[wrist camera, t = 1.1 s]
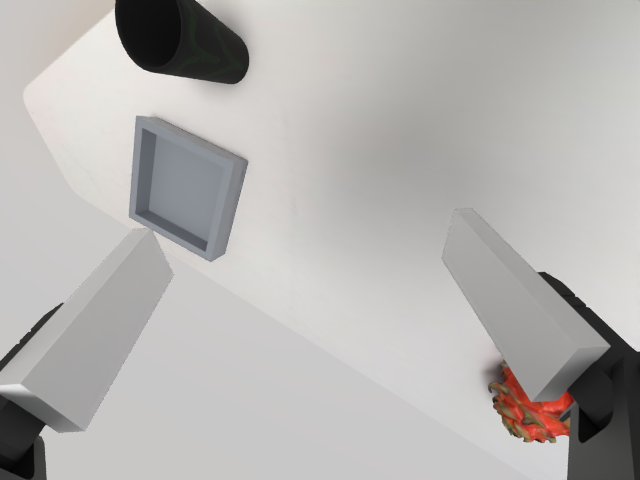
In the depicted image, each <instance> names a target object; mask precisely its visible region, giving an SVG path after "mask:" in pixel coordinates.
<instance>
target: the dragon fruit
mask: <svg viewBox="0 0 640 480" xmlns="http://www.w3.org/2000/svg"><path fill="white" fill-rule="evenodd" d="M501 366H502V367H503V368H502V369H501V376H502V377H503V383H502V384H499V383H496V382H494V383H491V384H490V385H489V386H488V390H489V391H490V393H492V391H491V388H490V387H492V388H493V389H496V390H497V391H498V392H499V393H500V394H499V395H496V396H494V397H493V399H492V400H493V403H494V405H493V408H494V409H496V410H497V413H498V414H500V415H501V416H502V423H503V424H504V426H505V427H506V428H507V429H508V431H509V433H510V435H512V434H513V435H514V436H515V437H518V438H522V437H524V441H523V442H533V440H536V441H538V442H540V443H545V441H546V440H549V441H550V443H556V438H555V437H556V436H559V435H567V436H569V435H570V417H569V418H568V419H567V420H566V421H564V422H561V421H559V417H560V415H561V414H562V413H563V412H564V411H565V410H566V409H567V408H568V407H569V406H570V405H571V404H572V403H574V402H575V400H574V398H573V397H572V396H571V394H570V393H569V392H568V390H567V391H566V392H565V393H564V394H563V395H562V396H561V397H560V398H559V399H558V400H557V401H543V402H531V401H530V400H529V398H528V396H527V395H526V393H525V392H524V390H523V388H522V387H521V385H520V384H519V382H518V380H517V379H516V377H515V376H514V374H513V372H512V371H511V369H510V368H509V366H508V364H507V363H506V361H505V360H504V361H503V362H502V364H501ZM495 402H496V403H495Z"/></svg>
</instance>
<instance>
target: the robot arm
mask: <svg viewBox="0 0 640 480" xmlns="http://www.w3.org/2000/svg"><path fill="white" fill-rule="evenodd" d="M441 259H442V260H443V262H444V264H445V265H446V267H447V268H448V270H449V272H450V273H451V275H452V276H453V278H454V280H455V281H456V283H457V284H458V286H459V288H460V289H461V291H462V292H463V294H464V296H465V297H466V299H467V300H468V302H469V304H470V305H471V307H472V308H473V310H474V312H475V313H476V315H477V316H478V318H479V320H480V321H481V323H482V324H483V326H484V328H485V329H486V331H487V332H488V334H489V336H490V337H491V339H492V340H493V342H494V344H495V345H496V347H497V348H498V350H499V352H500V353H501V355H502V356H503V358H504V360H505V361H506V363H507V364H508V366H509V368H510V369H511V371H512V372H513V374H514V376H515V377H516V379H517V380H518V382H519V384H520V385H521V387H522V388H523V390H524V392H525V393H526V395H527V396H528V398H529V400H530V401H531V402H543V401H557V400H558V399H559V398H560V397H561V396H562V395H563V394H564V393H565V392H566V391H567V390H568V392H569V393H570V394H571V396H572V397H573V398H574V400H575V402H574V403H572V404H571V405H570V406H569V407H568V408H567V409H566V410H565V411H564V412H563V413H562V414H561V415H560V417H559V421H561V422H564V421H566V420H567V419H568V418H569V417H570V435H569V455H568V475H567V480H640V352H637V351H635V350H634V349H633V348H632V347H631V346H629V345H628V344H627V343H626V342H625V341H624V340H623V339H622V338H621V337H620V336H619V335H618V334H617V333H616V332H615V331H613V330H612V329H611V328H610V327H609V326H608V325H607V324H606V323H605V322H604V321H603V320H602V319H601V318H600V317H599V316H597V315H596V314H595V313H594V312H593V311H592V310H591V309H590V308H589V307H586V304H585V303H584V302H583V301H581V300H580V299H579V298H578V297H575V294H574V293H573V292H572V291H571V290H570V289H569V288H568V287H567V286H565V285H564V284H563V283H562V282H561V281H559V280H557V279H556V278H554V277H552V276H551V275H549V274H547V273H546V272H536V271H535V270H534V269H533V268H532V267H531V266H530V265H529V264H528V263H527V262H526V261H525V260H524V259H523V258H522V257H521V256H520V255H519V254H518V253H517V252H516V251H515V250H514V249H513V248H512V247H511V246H510V245H509V244H508V243H507V242H506V241H505V240H504V239H503V238H502V237H501V236H500V235H499V234H498V233H497V232H496V231H495V230H494V229H493V228H492V227H491V226H490V225H489V224H488V223H487V222H486V221H485V220H484V219H483V218H482V217H481V216H480V215H479V214H478V213H477V212H476V211H475V210H474V209H473V208H469V209H455V211H454V214H453V218H452V222H451V225H450V229H449V232H448V236H447V240H446V243H445V247H444V250H443V254H442V258H441ZM173 276H174V274H173V272H172V270H171V268H170V266H169V263H168V261H167V259H166V257H165V255H164V253H163V251H162V249H161V247H160V245H159V243H158V241H157V239H156V237H155V235H154V233H153V231H152V229H151V228H141V229H133V230H132V231H131V232H130V233H129V234H128V235H127V236H126V237H125V239H124V240H123V241H122V242H121V243H120V244H119V245H118V246H117V247H116V248H115V249H114V250H113V251H112V252H111V253H110V254H109V256H108V257H107V258H106V259H105V260H104V261H103V262H102V263H101V264H100V265H99V266H98V267H97V268H96V270H95V271H94V272H93V273H92V274H91V275H90V276H89V277H88V278H87V279H86V280H85V281H84V282H83V283H82V285H81V286H80V287H79V288H78V289H77V290H76V291H75V292H74V293H73V294H72V295H71V296H70V297H69V299H68V300H67V301H66V302H65V303H61V304H60V305H58V306H57V307H55V308H54V309H53V310H51V311H50V312H48V313H47V314H46V315H44V316H43V317H42V318H41V319H40V320H39V321H38V322H37V323H36V325H35V326H34V327H33V328H32V329H31V332H28V333H27V334H26V335H25V336H24V337H23V338H22V339H21V340H20V343H19V344H16V345H15V346H14V347H13V348H12V349H11V350H10V351H9V353H8V354H7V355H6V356H5V357H4V358H3V359H2V360H1V361H0V480H47V478H46V462H45V447H44V441H43V439H42V437H41V436H39V434H40V432H41V431H42V429H43V427H44V426H45V425H48V426H49V427H51V428H52V429H54V430H55V431H57V432H58V433H63V432H79V431H85V430H86V428H87V427H88V425H89V423H90V421H91V420H92V418H93V416H94V414H95V413H96V411H97V409H98V407H99V406H100V404H101V402H102V400H103V399H104V397H105V395H106V393H107V392H108V390H109V388H110V386H111V385H112V383H113V381H114V379H115V378H116V376H117V374H118V372H119V371H120V369H121V367H122V365H123V364H124V362H125V360H126V358H127V357H128V355H129V353H130V351H131V350H132V348H133V346H134V344H135V342H136V341H137V339H138V337H139V336H140V334H141V332H142V330H143V329H144V326H145V325H146V323H147V322H148V320H149V318H150V316H151V315H152V313H153V311H154V309H155V307H156V306H157V304H158V302H159V301H160V299H161V297H162V295H163V293H164V292H165V290H166V288H167V286H168V284H169V283H170V281H171V279H172V278H173Z"/></svg>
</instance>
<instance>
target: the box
mask: <svg viewBox="0 0 640 480" xmlns="http://www.w3.org/2000/svg"><path fill="white" fill-rule="evenodd" d="M247 165H248V161H247V160H245V159H243V158H241V157H239V156H237V155H234V154H232V153H230V152H228V151H226V150H224V149H222V148H220V147H218V146H216V145H213V144H211V143H209V142H207V141H205V140H203V139H201V138H199V137H197V136H195V135H193V134H190V133H188V132H186V131H184V130H182V129H180V128H178V127H176V126H174V125H172V124H169V123H167V122H165V121H163V120H161V119H159V118H155V117H145V116H136V124H135V138H134V152H133V166H132V179H131V193H130V207H129V217H130V218H131V219H133V220H135V221H137V222H139V223H141V224H142V225H144V226H146V227H148V228H151V229H152V230H153V231H155V232H157V233H159V234H161V235H162V236H164V237H166V238H168V239H170V240H171V241H173V242H175V243H177V244H179V245H181V246H182V247H184V248H186V249H188V250H190V251H191V252H193V253H195V254H197V255H199V256H201V257H202V258H204V259H206V260H208V261H210V262H212V261H213V260H215V259H217V258H218V257H220V256H222V255H223V254H225V250H226V247H227V243H228V239H229V235H230V231H231V227H232V223H233V219H234V215H235V212H236V208H237V204H238V200H239V196H240V192H241V188H242V184H243V180H244V177H245V173H246V169H247Z"/></svg>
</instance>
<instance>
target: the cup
mask: <svg viewBox="0 0 640 480" xmlns="http://www.w3.org/2000/svg"><path fill="white" fill-rule="evenodd" d="M115 19H116V26H117V30H118V34H119V37H120V40H121V42H122V45H123V47H124V49H125V50H126V52H127V54H128V55H129V57H130V58H131V59H132V60H133V61H134V62H135V63H136V64H137V65H138V66H139V67H141V68H142V69H144V70H147V71H149V72H153V73H159V74H166V75H173V76H179V77H186V78H193V79H199V80H206V81H212V82H219V83H226V84H235V83H238V82H239V81H241V80H242V79H243V77H244V76H245V74H246V72H247V70H248V66H249V54H248V50H247V47H246V45H245V43H244V42H243V41H242V39H241V38H240V37H239V36H237V35H236V34H235V33H234V32H233V31H231V30H230V29H229V28H228V27H227V26H225V25H224V24H223V23H222V22H221V21H219V20H218V19H217V18H216V17H215V16H213V15H212V14H211V13H210V12H209V11H207V10H206V9H205V8H204V7H203V6H201V5H200V4H199V3H198V2H197V1H195V0H116V3H115Z"/></svg>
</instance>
